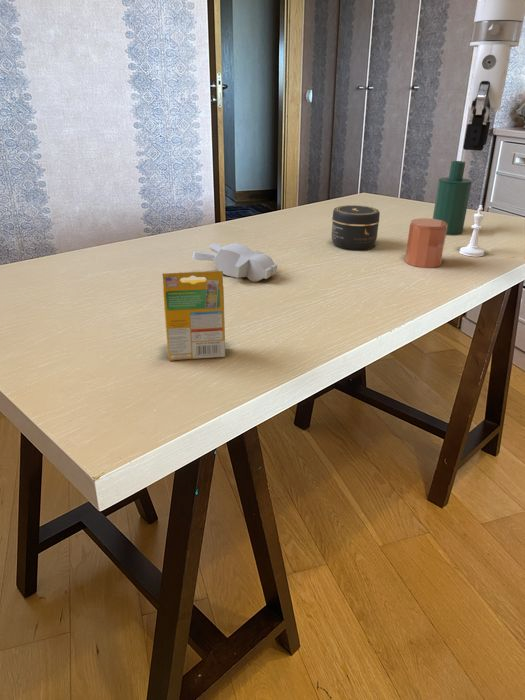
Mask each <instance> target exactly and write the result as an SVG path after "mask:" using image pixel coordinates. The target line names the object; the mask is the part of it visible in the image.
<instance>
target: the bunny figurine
mask: <svg viewBox="0 0 525 700" xmlns="http://www.w3.org/2000/svg"><path fill="white" fill-rule="evenodd" d="M208 247H209V250H210V251H211V252H208V251H203V250H193V254H192V256H191V259H192V260H194V261H207V262H208V261H209V262H213V263H214V264H215V267H216V269H217V271H223V275H225V276H228V277H232V278H236V279H237V278H247V279H248V280H249V281H251V282H253V283H255V282H259V281H262V280H263V279H265V280H266V279H268V278H271V276H274V275H275V274H277V272H278V267H279V266H278V264H276V263H275V262H274V260H273V259H272V257H271V256H270V255H268V254H266V253H264V252H262V251H255V250H252V249H251V248H250V247H248V246H247V245H245V244H242V243H238V242H233V243H230V244H226V245H224V246H222V245H220V244H219V243H210V244H209V245H208ZM213 252H214V253H213Z"/></svg>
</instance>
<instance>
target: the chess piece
mask: <svg viewBox="0 0 525 700" xmlns="http://www.w3.org/2000/svg"><path fill="white" fill-rule="evenodd" d="M483 210H484V207H483V205H482V204H479V206H478V208H477V210H476V211H477V213H474V214H473V221H474V224H472V225H471V228H472V229H473V231H472V234H471V237H470V240H469V243H468V244H466V246H462V247H460V249H459V251H458V253H459V254H460V255H462V256H466V257H471V258H472V257H475V258H477V257H484V255H485V250H484V249H483V248H481V247H479V246H480V245H479V244H478V243H479V231H480V229H483V226H482V225H481V223H482V221H483V219H484V218H485V215H484V214H483V213H482V211H483Z"/></svg>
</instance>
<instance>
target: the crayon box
mask: <svg viewBox="0 0 525 700" xmlns="http://www.w3.org/2000/svg"><path fill="white" fill-rule="evenodd" d="M161 275H162V283H163V284H162V293H163V307H164V322H165V332H166V334H165V335H166V345H167V359H168V361H169V362H173V361H179V360H192V359H193V360H196V359H209V358H210V359H212V358H226V335H225V334H226V329H225V327H226V326H225V325H226V323H225V292H224V289H225V288H224V274H223V271H218V270H209V271H187V272H186V271H185V272H164V273H162V274H161ZM190 277H195V278H205V279H190V280H189V279H188V280H187V278H190ZM183 278H186V280H181V279H183Z"/></svg>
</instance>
